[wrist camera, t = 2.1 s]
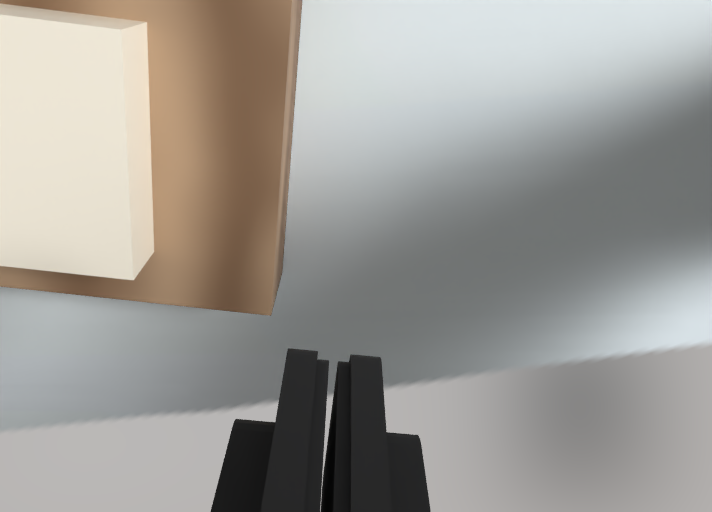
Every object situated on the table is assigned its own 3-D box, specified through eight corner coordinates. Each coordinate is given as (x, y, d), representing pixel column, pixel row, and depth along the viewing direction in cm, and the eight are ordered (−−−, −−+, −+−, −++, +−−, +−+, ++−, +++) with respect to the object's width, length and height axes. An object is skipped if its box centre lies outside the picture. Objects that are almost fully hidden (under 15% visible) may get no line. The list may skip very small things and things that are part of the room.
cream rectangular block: (146, 21, 21) (121, 29, 19) (153, 251, 25) (133, 280, 23) (-28, 0, 21) (-75, 5, 19) (7, 235, 25) (-28, 262, 23)
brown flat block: (305, -39, 24) (294, -38, 20) (282, 272, 30) (270, 315, 27) (-111, -94, 23) (-197, -103, 20) (-47, 236, 29) (-104, 275, 26)
